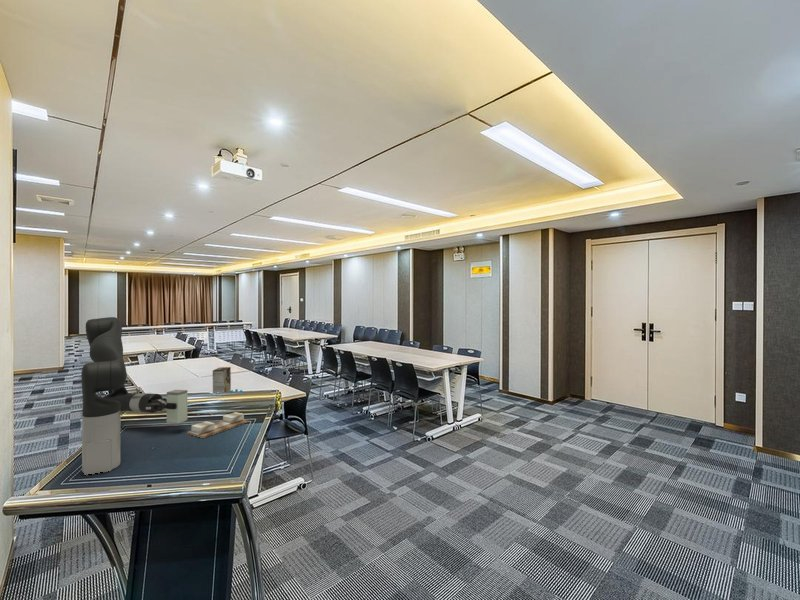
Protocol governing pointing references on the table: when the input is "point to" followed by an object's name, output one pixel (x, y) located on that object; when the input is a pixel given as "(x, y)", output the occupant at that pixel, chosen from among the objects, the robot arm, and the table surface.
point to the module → (181, 410)
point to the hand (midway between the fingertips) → (181, 404)
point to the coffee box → (222, 379)
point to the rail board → (217, 425)
